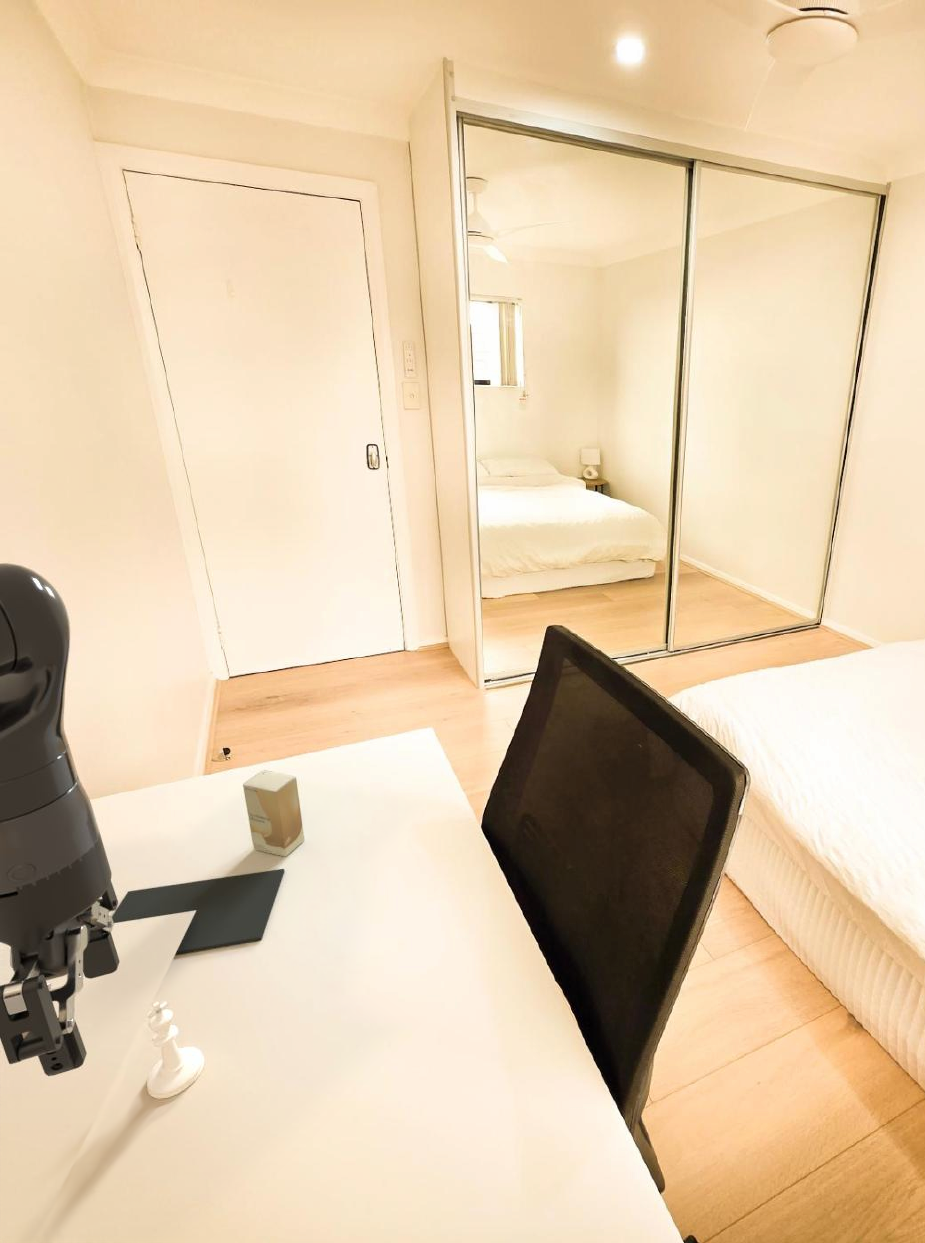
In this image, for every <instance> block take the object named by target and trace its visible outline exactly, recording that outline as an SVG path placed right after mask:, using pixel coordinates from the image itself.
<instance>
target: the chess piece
mask: <svg viewBox="0 0 925 1243" xmlns="http://www.w3.org/2000/svg"><path fill="white" fill-rule="evenodd" d="M169 1007H170V1006H169V1003H168V1001H166V1000H165V1001H163V1003H160V1002H159V1001H156V1002H154V1003H153V1004H152V1008H153V1009H152V1010H151V1011H149V1012H147V1013H146V1017H147V1019H148V1023H147V1027H148V1028H149V1030H150V1031H153V1032H154V1035H153V1036H152V1041H151V1042H152V1045H153V1046H155V1047H159V1048H160V1047H161V1057H162V1058H161V1059H160V1060H159V1061H158V1062H157V1063H155V1065H154V1066H153V1067H152V1069H151V1070H150V1071H149V1074H148V1076H147V1079H146V1090H147V1092H148V1094H149V1096H150V1097H152V1098H155V1099H167V1098H171V1097H173V1096H176V1095H178V1094H180V1093H182V1092H184V1091H185V1090H187V1089H188V1088H189V1087H190V1086H191V1085H192V1084H194V1083H195V1081H197V1079H198V1078H199V1077H200V1075H201V1073H202V1072H203V1069H204V1066H205V1057H204V1054H203V1053H202V1051H201V1050H200V1049H199V1048H197V1047H194V1046H184V1047H180V1048H179V1047H178V1045H177V1044H176V1042H175V1039H176V1037H177V1036H178V1034H179V1028H178V1027H177V1026H176V1025H174V1024H172V1021H173V1016H174V1013H173V1011H172V1010H171V1009H167V1008H169Z"/></svg>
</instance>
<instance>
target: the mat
mask: <svg viewBox="0 0 925 1243" xmlns="http://www.w3.org/2000/svg"><path fill="white" fill-rule="evenodd" d="M284 875H285V868H278V869H272V870H265V871H258V872H252V873H245V874H237V875H231V876H223V877H217V878H210V879H203V880H197V881H189V882H182V883H176V884H170V885H169V884H168V885H162V886H155V887H148V888H142V889H136V890H128V891H127V892H126V894H125V895H124V898H123V899H122V900H121V902H120V903H119V904H118V906H117V908H116V910H114V912H113V914H112V915H111V917H112V919H113V921H114V924H118V923H125V922H132V921H137V920H144V919H150V918H156V917H163V916H169V915H175V914H182V913H189V912H194V911H195V912H194V914H193V917H192V918H191V921H190V923H189V924H188V926H187V928H186V931H185V933H184V934H183V937H182V939H181V941H180V943H179V946H178V947H177V949H176V952H175V953H174V956H180V955H186V954H192V953H197V952H203V951H208V950H214V949H219V948H226V947H231V946H237V945H245V944H249V943H255V942H261V941H262V939H263V937H264V934H265V931H266V928H267V925H268V922H269V919H270V915H271V913H272V910H273V908H274V907H273V906H274V903H275V901H276V898H277V895H278V893H279V889H280V887H281V884H282V880H283V877H284Z"/></svg>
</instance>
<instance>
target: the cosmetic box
mask: <svg viewBox="0 0 925 1243" xmlns="http://www.w3.org/2000/svg"><path fill="white" fill-rule="evenodd" d="M242 787H243V793H244V799H245V800H244V801H245V805H246V811H247V819H248V823H249V828H250V834H251V835H250V836H251V841H252V848H253V849H254V850H256V851H260V852H264V853H267V854H272V855H276V856H279V857H287V856H289V855H290V854H291V853H292V852H293V851H294V850H295V849H296V848H298V847H299V846H300V845H301V844H302V843H304V842H305V834H304V833H305V832H304V825H303V818H302V811H301V810H302V809H301V804H300V795H299V788H298V781H297V776H295V775H291V774H286V773H283V772H276V771H272V770H267V769H262V770H261V771H260V772H258V773H256V774H255V775H254V776H252V777H251V778H249V779H248V780H246V781H245V782H244V783H242Z"/></svg>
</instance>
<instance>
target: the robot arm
mask: <svg viewBox="0 0 925 1243" xmlns="http://www.w3.org/2000/svg"><path fill="white" fill-rule="evenodd" d="M70 649H71V622H70V617H69V613H68V609H67V607H66V604H65V601H64V600H63V598H62V596H61V595H60V593H59V591H58V590H57V589H56V588H55V587H54V585H53V584H52V583H51V582H50V581H49V580H48V579H46V578H45V577H44V576H43V575H42V574H39V573H38V572H36V571H35V570H33V569H31V568H29V567H26V566H23V565H20V564H16V563H9V562H3V563H0V943H1V944H3V945H7V946H9V947H10V950H9V951H10V952H9V966H10V968H12V970H13V975H12V977H11V979H10V981H9V982H8V983H4V984H2V985H0V1042H1V1045H2V1048H3V1051H4V1054H5V1056H6V1060H7V1062H8V1064H9V1065H13V1064H17V1063H20V1062H22V1061H25V1060H29V1059H31V1058H32V1059H33V1058H35V1057H38V1060H39V1062H40V1065H41V1067H42V1071H43V1072H44V1074H45V1075H46V1076H48V1077H52V1076H56V1075H61V1074H63V1073H66V1072H70V1071H73V1070H76V1069H79V1068H80V1067H82V1066H83V1064H84V1062H85V1060H86V1058H87V1054H88V1052H87V1050H86V1046H85V1044H84V1041H83V1038H82V1036H81V1033H80V1030H79V1027H78V1024H77V1022H76V1020H75V997H76V995H77V994H78V993H79V994H80V992H81V991H82V989H83V988H84V977H85V978H86V979H89V980H91V979H96V978H100V977H103V976H106V975H111V974H114V973H115V972H116V971H117V970H118V967H119V965H120V961H121V960H120V958H119V955H118V954H119V953H118V952H117V948H116V945H115V941H114V939H113V935H112V931H113V928H114V925H115V923H114V921H113V919H112V915H111V916H110V915H109V914H110V912H113V911H114V912H115V911H116V910H117V908H118V906H119V900H118V898H117V893H116V891H115V888H114V886H113V885H114V884H113V882H112V875H113V874H112V870H111V866H110V863H109V859H108V855H107V852H106V848H105V845H104V842H103V839H102V835H101V831H100V828H99V825H98V821H97V818H96V815H95V812H94V808H93V805H92V802H91V799H90V797H89V795H88V793H87V791H86V789H85V788H84V786H83V784H82V782H81V779H80V777H79V774H78V771H77V768H76V765H75V761H74V757H73V754H72V750H71V748H70V744H69V741H68V737H67V734H66V729H65V721H64V720H65V705H66V704H65V703H66V683H67V674H68V667H69V666H68V665H69V658H70ZM65 976H66V982H65V983H64V984H63V985H61V986H57V987H54V988H52V984H51V983H50V982H47V981H50V980H53V979H54V980H55V979H57V978H58V979H59V978H61V977H65ZM54 1002H57V1003H58V1014H57V1011H56V1008H55V1005H54Z"/></svg>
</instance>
